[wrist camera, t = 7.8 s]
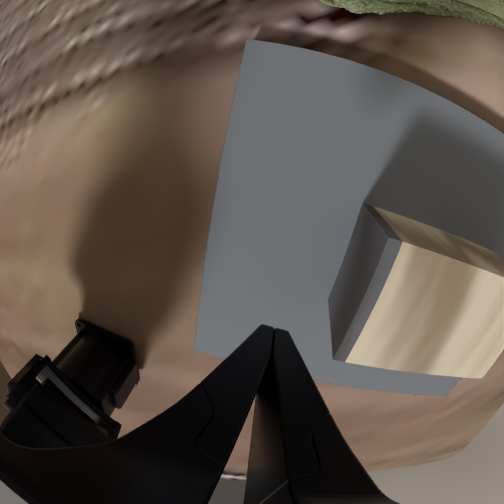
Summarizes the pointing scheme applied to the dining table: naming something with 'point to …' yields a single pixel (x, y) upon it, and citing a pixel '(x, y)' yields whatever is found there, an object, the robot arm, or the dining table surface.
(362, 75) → the rubber pad
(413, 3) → the washcloth
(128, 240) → the dining table surface
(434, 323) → the maple block
